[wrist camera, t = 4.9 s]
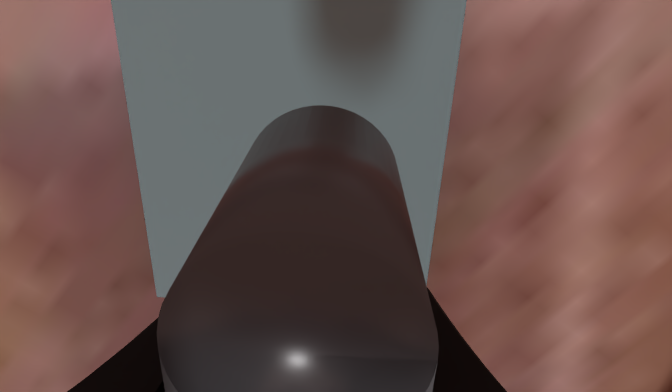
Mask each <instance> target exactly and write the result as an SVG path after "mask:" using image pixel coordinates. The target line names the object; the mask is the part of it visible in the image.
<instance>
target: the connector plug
mask: <svg viewBox="0 0 672 392" xmlns="http://www.w3.org/2000/svg"><path fill="white" fill-rule="evenodd" d="M157 343H158V351H159V358H160V364H161V370H162V376H163V382H164V388H165V392H432V391H433V385H434V379H435V374H436V368H437V362H438V351H439V343H438V332H437V328H436V324H435V320H434V316H433V311H432V307H431V303H430V299H429V295H428V291H427V287H426V283H425V278H424V274H423V270H422V266H421V262H420V258H419V254H418V250H417V245H416V241H415V237H414V233H413V229H412V225H411V221H410V217H409V212H408V208H407V204H406V200H405V196H404V192H403V188H402V184H401V179H400V175H399V171H398V167H397V163H396V159H395V156H394V153H393V151H392V149H391V146H390V145H389V143H388V141H387V140H386V138H385V137H384V136H383V134H382V133H381V132H380V131H379V130H378V129H377V128H376V127H375V126H374V125H373V124H372V123H370V122H369V121H368V120H366V119H365V118H363V117H361V116H360V115H358V114H356V113H354V112H351V111H349V110H346V109H343V108H339V107H334V106H325V105H316V106H307V107H301V108H298V109H294V110H292V111H289V112H287V113H285V114H283V115H281V116H279V117H278V118H276V119H275V120H273V121H272V122H271V123H270V124H268V125H267V126H266V127H265V128H264V129H263V131H262V132H261V133H260V134H259V135H258V137H257V138H256V140H255V141H254V143H253V145H252V147H251V148H250V150H249V152H248V154H247V155H246V157H245V159H244V160H243V162H242V164H241V166H240V167H239V169H238V171H237V173H236V174H235V176H234V178H233V180H232V181H231V183H230V185H229V187H228V188H227V190H226V192H225V194H224V195H223V197H222V199H221V200H220V202H219V204H218V206H217V207H216V209H215V211H214V213H213V214H212V216H211V218H210V220H209V221H208V223H207V225H206V227H205V228H204V230H203V232H202V233H201V235H200V237H199V239H198V240H197V242H196V244H195V246H194V247H193V249H192V251H191V253H190V254H189V256H188V258H187V260H186V261H185V263H184V265H183V267H182V268H181V270H180V272H179V273H178V275H177V277H176V279H175V280H174V282H173V284H172V286H171V287H170V289H169V291H168V293H167V295H166V297H165V299H164V301H163V303H162V306H161V310H160V314H159V317H158V325H157Z"/></svg>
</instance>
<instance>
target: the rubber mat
mask: <svg viewBox="0 0 672 392" xmlns="http://www.w3.org/2000/svg"><path fill="white" fill-rule="evenodd" d="M466 1H467V0H111V4H112V10H113V16H114V23H115V29H116V36H117V42H118V49H119V55H120V62H121V68H122V74H123V81H124V87H125V94H126V100H127V107H128V113H129V119H130V126H131V132H132V139H133V145H134V152H135V158H136V164H137V171H138V177H139V184H140V190H141V197H142V203H143V209H144V216H145V222H146V229H147V235H148V242H149V248H150V255H151V261H152V267H153V274H154V280H155V287H156V293H157V297H166V295H167V293H168V291H169V289H170V287H171V286H172V284H173V282H174V280H175V279H176V277H177V275H178V273H179V272H180V270H181V268H182V267H183V265H184V263H185V261H186V260H187V258H188V256H189V254H190V253H191V251H192V249H193V247H194V246H195V244H196V242H197V240H198V239H199V237H200V235H201V233H202V232H203V230H204V228H205V227H206V225H207V223H208V221H209V220H210V218H211V216H212V214H213V213H214V211H215V209H216V207H217V206H218V204H219V202H220V200H221V199H222V197H223V195H224V194H225V192H226V190H227V188H228V187H229V185H230V183H231V181H232V180H233V178H234V176H235V174H236V173H237V171H238V169H239V167H240V166H241V164H242V162H243V160H244V159H245V157H246V155H247V154H248V152H249V150H250V148H251V147H252V145H253V143H254V141H255V140H256V138H257V137H258V135H259V134H260V133H261V132H262V131H263V129H264V128H265V127H266V126H267V125H268V124H270V123H271V122H272V121H273V120H275V119H276V118H278V117H279V116H281V115H283V114H285V113H287V112H289V111H292V110H294V109H298V108H301V107H307V106H316V105H325V106H334V107H339V108H343V109H346V110H349V111H351V112H354V113H356V114H358V115H360V116H361V117H363V118H365V119H366V120H368V121H369V122H370V123H372V124H373V125H374V126H375V127H376V128H377V129H378V130H379V131H380V132H381V133H382V134H383V136H384V137H385V138H386V140H387V141H388V143H389V145H390V146H391V149H392V151H393V153H394V156H395V159H396V163H397V167H398V171H399V175H400V179H401V184H402V188H403V192H404V196H405V200H406V204H407V208H408V212H409V217H410V221H411V225H412V229H413V233H414V237H415V241H416V245H417V250H418V254H419V258H420V262H421V266H422V270H423V274H424V278H425V283H426V284H427V277H428V270H429V263H430V256H431V249H432V242H433V235H434V228H435V221H436V213H437V206H438V199H439V192H440V185H441V178H442V171H443V164H444V157H445V150H446V143H447V135H448V128H449V121H450V114H451V107H452V100H453V93H454V86H455V79H456V72H457V65H458V57H459V50H460V43H461V36H462V29H463V22H464V15H465V8H466Z"/></svg>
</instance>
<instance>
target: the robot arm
mask: <svg viewBox="0 0 672 392" xmlns="http://www.w3.org/2000/svg"><path fill="white" fill-rule="evenodd" d="M427 291H428V295H429V299H430V303H431V307H432V311H433V316H434V320H435V324H436V328H437V332H438V343H439V351H438V362H437V368H436V374H435V379H434V385H433V391H432V392H507V391H506V390H505V389H504V388H503V387H502V386H501V384H500V383H499V382H498V381H497V380H496V379H495V377H494V376H493V375H492V374H491V373H490V371H489V370H488V369H487V368H486V367H485V365H484V364H483V363H482V362H481V360H480V359H479V358H478V357H477V355H476V354H475V353H474V351H473V350H472V349H471V348H470V346H469V345H468V344H467V343H466V341H465V340H464V339H463V337H462V336H461V335H460V333H459V332H458V331H457V329H456V328H455V326H454V325H453V324H452V322H451V321H450V320H449V318H448V317H447V315H446V314H445V312H444V311H443V310H442V308H441V307H440V305H439V304H438V302H437V301H436V299H435V298H434V296H433V295H432V293H431V292H430V290H429V289H428V288H427ZM157 325H158V318H157V319H156V320H155V321H154V322H153V323H151V324H150V325H149V326H148V327H147V328H146V329H145V330H143V331H142V332H141V333H140V334H139V335H138V336H137V337H135V338H134V339H133V340H132V341H131V342H130V343H129V344H127V345H126V346H125V347H124V348H123V349H121V350H120V351H119V352H118V353H116V354H115V355H114V356H113V357H111V358H110V359H109V360H108V361H106V362H105V363H104V364H103V365H101V366H100V367H99V368H98V369H96V370H95V371H94V372H93V373H91V374H90V375H89V376H88V377H86V378H85V379H84V380H82V381H81V382H80V383H78V384H77V385H76V386H74V387H73V388H72V389H70V390H69V391H67V392H165V388H164V382H163V376H162V370H161V364H160V358H159V351H158V343H157Z"/></svg>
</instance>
